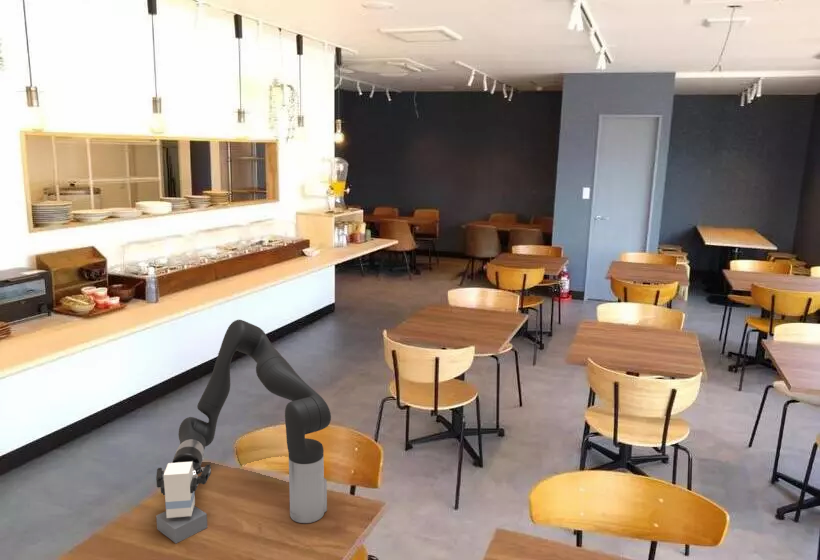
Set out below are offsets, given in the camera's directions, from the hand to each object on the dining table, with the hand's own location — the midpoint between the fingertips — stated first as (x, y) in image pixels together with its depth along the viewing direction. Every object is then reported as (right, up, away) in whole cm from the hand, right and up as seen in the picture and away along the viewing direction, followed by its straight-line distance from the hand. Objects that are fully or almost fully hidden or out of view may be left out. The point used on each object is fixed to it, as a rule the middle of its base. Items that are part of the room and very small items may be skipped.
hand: (177, 490), depth 160 cm
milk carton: (-1, -6, +4) cm, 7 cm away
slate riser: (-1, -11, +5) cm, 13 cm away
